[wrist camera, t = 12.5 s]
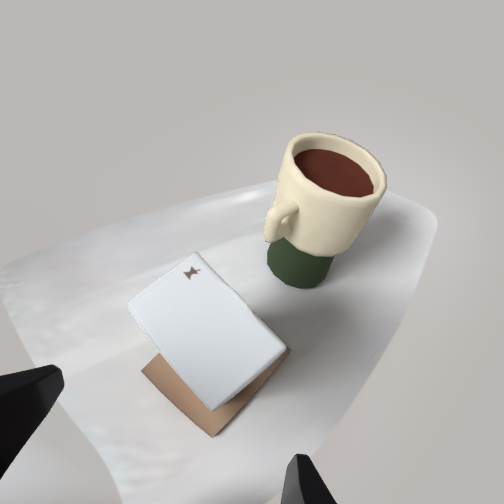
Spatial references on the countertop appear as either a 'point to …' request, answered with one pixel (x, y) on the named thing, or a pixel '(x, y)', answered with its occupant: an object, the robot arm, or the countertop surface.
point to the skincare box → (205, 331)
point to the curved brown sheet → (191, 404)
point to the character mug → (320, 205)
